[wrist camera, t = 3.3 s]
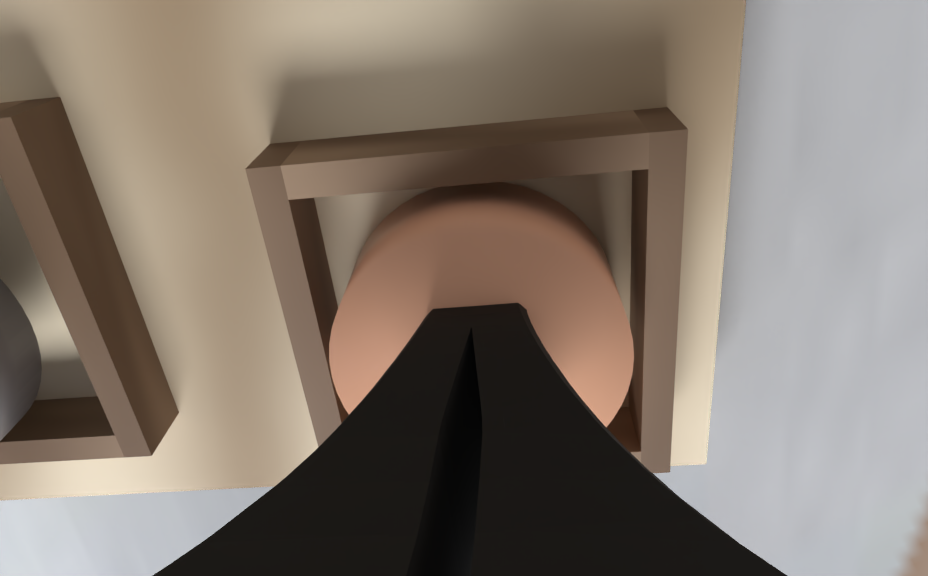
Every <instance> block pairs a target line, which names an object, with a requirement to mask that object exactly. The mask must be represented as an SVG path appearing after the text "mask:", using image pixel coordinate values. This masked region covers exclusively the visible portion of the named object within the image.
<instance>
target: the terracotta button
mask: <svg viewBox="0 0 928 576" xmlns="http://www.w3.org/2000/svg"><path fill="white" fill-rule="evenodd" d="M507 303H519V304H521V305H522V306H523V307H524V308H525V309H527V313H528V316H529V319H530V321H531V323H532V325H533V327H534V329H535V331H536V333H537V335H538V337H539V338H540V340H541V342H542V344H543V345H544V347H545V349H546V350H547V352H548V353H549V355H550V356H551V358H552V359H553V361H554V362H555V364H556V365H557V366H558V368H559V369H560V371H561V372H562V373H563V375H564V376H565V378H566V379H567V380H568V382H569V383H570V385H571V386H572V387H573V389H574V390H575V391H576V392H577V394H578V395H579V396H580V397H581V399H582V400H583V401H584V402H585V404H586V405H587V406H588V407H589V408H590V409H591V411H592V412H593V413H594V414H595V415H596V416H597V418H598V419H599V420H600V421H601V422H602V423H603V424H604V426H605V427H607V426H608V425H609V424H610V422H611V421H612V420H613V418H614V417H615V415H616V414H617V412H618V410H619V409H620V407H621V405H622V403H623V401H624V399H625V396H626V394H627V392H628V389H629V385H630V381H631V377H632V373H633V363H634V348H633V338H632V334H631V329H630V325H629V321H628V318H627V316H626V313H625V310H624V307H623V304H622V301H621V298H620V295H619V292H618V289H617V286H616V283H615V280H614V277H613V274H612V271H611V269H610V266H609V263H608V261H607V258H606V256H605V253H604V251H603V249H602V247H601V245H600V244H599V242H598V240H597V239H596V237H595V236H594V234H593V233H592V232H591V231H590V229H589V228H588V227H587V226H586V224H585V223H584V222H583V221H582V220H581V219H580V218H578V217H577V216H576V215H575V214H574V213H573V212H572V211H571V210H569V209H568V208H566V207H565V206H564V205H562V204H561V203H559V202H558V201H556V200H554V199H552V198H550V197H548V196H546V195H545V194H543V193H540V192H538V191H535V190H532V189H530V188H527V187H524V186H519V185H515V184H511V183H507V182H492V183H480V184H468V185H456V186H445V187H437V188H434V189H431V190H429V191H426V192H424V193H422V194H419V195H417V196H415V197H413V198H412V199H410V200H408V201H407V202H405V203H403V204H401V205H400V206H399V207H398V208H396V209H395V210H394V211H393V212H391V213H390V214H389V215H387V216H386V218H385V219H384V220H383V221H382V222H381V223H380V224H379V225H378V226H377V227H376V228H375V230H374V231H373V232H372V234H371V235H370V237H369V238H368V239H367V241H366V243H365V245H364V247H363V249H362V251H361V253H360V255H359V257H358V259H357V262H356V265H355V267H354V270H353V272H352V275H351V277H350V280H349V282H348V285H347V287H346V290H345V293H344V295H343V298H342V300H341V303H340V305H339V308H338V310H337V313H336V316H335V319H334V322H333V325H332V330H331V336H330V342H329V362H330V369H331V375H332V379H333V382H334V385H335V388H336V392H337V394H338V396H339V398H340V400H341V402H342V404H343V406H344V408H345V409H346V411H347V412H348V414H350V413H351V412H352V411H353V410H354V409H355V408H356V406H357V405H358V404H359V403H360V402H361V401H362V400H363V399H364V398H365V396H366V395H367V394H368V393H369V392H370V390H371V389H372V388H373V387H374V386H375V384H376V383H377V382H378V381H379V379H380V378H381V377H382V375H383V374H384V373H385V372H386V370H387V369H388V368H389V367H390V365H391V364H392V363H393V362H394V360H395V359H396V358H397V356H398V355H399V354H400V352H401V351H402V349H403V348H404V347H405V345H406V344H407V343H408V341H409V340H410V338H411V337H412V336H413V334H414V333H415V331H416V330H417V328H418V327H419V326H420V324H421V323H422V321H423V320H424V318H425V317H426V316H427V315H428V314H429V312H430V311H431V310H432V309H438V308H452V307H466V306H480V305H494V304H507Z"/></svg>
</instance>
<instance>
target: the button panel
mask: <svg viewBox="0 0 928 576" xmlns="http://www.w3.org/2000/svg"><path fill="white" fill-rule="evenodd" d="M745 6H746V0H0V279H1V280H2V281H3V282H4V283H5V285H6V286H7V287H8V288H9V289H10V290H11V292H12V293H13V295H14V296H15V298H16V299H17V300H18V302H19V303H20V305H21V306H22V308H23V310H24V312H25V313H26V315H27V317H28V319H29V321H30V323H31V325H32V328H33V330H34V333H35V335H36V338H37V341H38V345H39V349H40V354H41V365H42V373H41V383H40V387H39V390H38V394H37V396H36V398H35V400H34V402H33V404H32V406H31V408H30V409H29V410H28V411H27V413H26V414H25V415H24V416H23V417H22V419H21V420H20V421H19V422H18V423H17V424H16V425H15V426H14V427H13V428H12V429H11V430H10V431H9V432H8V433H7V434H6V436H5V437H4V438H3V439H2V440H1V441H0V500H18V499H37V498H57V497H76V496H96V495H115V494H135V493H154V492H174V491H193V490H213V489H232V488H252V487H271V486H276V485H277V484H278V483H279V482H281V481H282V480H283V479H284V478H285V477H286V476H288V475H289V474H290V473H291V472H292V471H293V470H294V469H295V468H296V467H298V466H299V465H300V464H301V463H302V462H303V461H304V460H305V459H306V458H308V457H309V456H310V455H311V454H312V453H313V452H314V451H315V450H316V449H317V448H318V447H319V446H320V445H321V444H322V443H323V442H324V441H325V440H326V439H327V438H328V437H329V436H330V435H331V434H332V433H333V432H334V431H335V430H336V429H337V428H338V426H339V425H340V424H341V423H342V422H343V421H344V420H345V419H346V418H347V416H348V415H349V414H348V412H347V411H346V409H345V408H344V406H343V404H342V402H341V400H340V398H339V396H338V394H337V392H336V388H335V385H334V382H333V379H332V375H331V369H330V362H329V342H330V336H331V330H332V325H333V322H334V319H335V316H336V313H337V310H338V308H339V305H340V303H341V300H342V298H343V295H344V293H345V290H346V287H347V285H348V282H349V280H350V277H351V275H352V272H353V270H354V267H355V265H356V262H357V259H358V257H359V255H360V253H361V251H362V249H363V247H364V245H365V243H366V241H367V239H368V238H369V237H370V235H371V234H372V232H373V231H374V230H375V228H376V227H377V226H378V225H379V224H380V223H381V222H382V221H383V220H384V219H385V218H386V216H387V215H389V214H390V213H391V212H393V211H394V210H395V209H396V208H398V207H399V206H400V205H401V204H403V203H405V202H407V201H408V200H410V199H412V198H413V197H415V196H417V195H419V194H422V193H424V192H426V191H429V190H431V189H434V188H437V187H445V186H456V185H468V184H480V183H492V182H507V183H511V184H515V185H519V186H524V187H527V188H530V189H532V190H535V191H538V192H540V193H543V194H545V195H546V196H548V197H550V198H552V199H554V200H556V201H558V202H559V203H561V204H562V205H564V206H565V207H566V208H568V209H569V210H571V211H572V212H573V213H574V214H575V215H576V216H577V217H578V218H580V219H581V220H582V221H583V222H584V223H585V224H586V226H587V227H588V228H589V229H590V231H591V232H592V233H593V234H594V236H595V237H596V239H597V240H598V242H599V244H600V245H601V247H602V249H603V251H604V253H605V256H606V258H607V261H608V263H609V266H610V269H611V271H612V274H613V277H614V280H615V283H616V286H617V289H618V292H619V295H620V298H621V301H622V304H623V307H624V310H625V313H626V316H627V318H628V321H629V325H630V329H631V334H632V338H633V348H634V363H633V373H632V377H631V381H630V385H629V389H628V392H627V394H626V396H625V399H624V401H623V403H622V405H621V407H620V409H619V410H618V412H617V414H616V415H615V417H614V418H613V420H612V421H611V422H610V424H609V425H608V426H607V427H606V428H607V429H608V430H609V431H610V432H611V433H612V434H613V435H614V436H615V437H616V438H617V440H618V441H619V442H620V443H621V444H622V445H623V446H624V447H625V448H626V449H627V450H628V451H629V452H630V453H631V454H632V455H634V456H635V457H636V458H637V459H638V460H639V461H640V462H641V463H642V464H643V465H644V466H645V467H646V468H647V469H648V470H649V471H650V472H651V473H665V472H670V466H680V465H699V464H706V461H707V449H708V438H709V426H710V414H711V403H712V391H713V379H714V368H715V356H716V344H717V333H718V321H719V309H720V298H721V286H722V274H723V263H724V251H725V239H726V228H727V216H728V205H729V193H730V181H731V170H732V158H733V146H734V135H735V123H736V111H737V100H738V88H739V76H740V65H741V53H742V41H743V30H744V18H745Z"/></svg>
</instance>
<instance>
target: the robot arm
mask: <svg viewBox="0 0 928 576" xmlns="http://www.w3.org/2000/svg"><path fill="white" fill-rule="evenodd" d="M153 576H787V575H785V574H784V573H782V572H781V571H779V570H778V569H776V568H775V567H773V566H772V565H770V564H769V563H767V562H766V561H764V560H763V559H762V558H760V557H759V556H757V555H756V554H754V553H753V552H751V551H750V550H748V549H747V548H745V547H744V546H742V545H741V544H739V543H738V542H737V541H735V540H734V539H733V538H732V537H730V536H729V535H728V534H726V533H725V532H724V531H722V530H721V529H720V528H719V527H717V526H716V525H715V524H713V523H712V522H711V521H710V520H708V519H707V518H706V517H704V516H703V515H702V514H700V513H699V512H698V511H697V510H695V509H694V508H693V507H691V506H690V505H689V504H687V503H686V502H685V501H684V500H682V499H681V498H680V497H679V496H677V495H676V494H675V493H674V492H673V491H672V490H671V489H669V488H668V487H667V486H666V485H665V484H664V483H663V482H662V481H660V480H659V479H658V478H657V477H656V476H655V475H654V474H653V473H651V472H650V471H649V470H648V469H647V468H646V467H645V466H644V465H643V464H642V463H641V462H640V461H639V460H638V459H637V458H636V457H635V456H634V455H632V454H631V453H630V452H629V451H628V450H627V449H626V448H625V447H624V446H623V445H622V444H621V443H620V442H619V441H618V440H617V438H616V437H615V436H614V435H613V434H612V433H611V432H610V431H609V430H608V429H607V428H606V427H605V426H604V424H603V423H602V422H601V421H600V420H599V419H598V418H597V416H596V415H595V414H594V413H593V412H592V411H591V409H590V408H589V407H588V406H587V405H586V404H585V402H584V401H583V400H582V399H581V397H580V396H579V395H578V394H577V392H576V391H575V390H574V389H573V387H572V386H571V385H570V383H569V382H568V380H567V379H566V378H565V376H564V375H563V373H562V372H561V371H560V369H559V368H558V366H557V365H556V364H555V362H554V361H553V359H552V358H551V356H550V355H549V353H548V352H547V350H546V349H545V347H544V345H543V344H542V342H541V340H540V338H539V337H538V335H537V333H536V331H535V329H534V327H533V325H532V323H531V321H530V319H529V316H528V313H527V309H525V308H524V307H523V306H522V305H521V304H519V303H507V304H494V305H480V306H466V307H452V308H438V309H432V310H431V311H430V312H429V314H428V315H427V316H426V317H425V318H424V320H423V321H422V323H421V324H420V326H419V327H418V328H417V330H416V331H415V333H414V334H413V336H412V337H411V338H410V340H409V341H408V343H407V344H406V345H405V347H404V348H403V349H402V351H401V352H400V354H399V355H398V356H397V358H396V359H395V360H394V362H393V363H392V364H391V365H390V367H389V368H388V369H387V370H386V372H385V373H384V374H383V375H382V377H381V378H380V379H379V381H378V382H377V383H376V384H375V386H374V387H373V388H372V389H371V390H370V392H369V393H368V394H367V395H366V396H365V398H364V399H363V400H362V401H361V402H360V403H359V404H358V405H357V406H356V408H355V409H354V410H353V411H352V412H351V413H350V414H349V415H348V416H347V418H346V419H345V420H344V421H343V422H342V423H341V424H340V425H339V426H338V428H337V429H336V430H335V431H334V432H333V433H332V434H331V435H330V436H329V437H328V438H327V439H326V440H325V441H324V442H323V443H322V444H321V445H320V446H319V447H318V448H317V449H316V450H315V451H314V452H313V453H312V454H311V455H310V456H309V457H308V458H306V459H305V460H304V461H303V462H302V463H301V464H300V465H299V466H298V467H296V468H295V469H294V470H293V471H292V472H291V473H290V474H289V475H288V476H286V477H285V478H284V479H283V480H282V481H281V482H279V483H278V484H277V485H276V486H275V487H274V488H272V489H271V490H270V491H268V492H267V493H266V494H265V495H263V496H262V497H261V498H259V499H258V500H257V501H255V502H254V503H253V504H252V505H250V506H249V507H248V508H246V509H245V510H244V511H243V512H241V513H240V514H239V515H237V516H236V517H235V518H234V519H232V520H231V521H230V522H228V523H227V524H226V525H225V526H223V527H222V528H221V529H219V530H218V531H217V532H215V533H214V534H213V535H212V536H210V537H209V538H207V539H206V540H205V541H203V542H202V543H200V544H199V545H197V546H196V547H194V548H193V549H192V550H190V551H189V552H187V553H186V554H184V555H183V556H181V557H180V558H178V559H177V560H175V561H174V562H173V563H171V564H170V565H168V566H167V567H165V568H164V569H162V570H161V571H159V572H157V573H156V574H154V575H153Z"/></svg>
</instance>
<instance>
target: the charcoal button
mask: <svg viewBox="0 0 928 576" xmlns="http://www.w3.org/2000/svg"><path fill="white" fill-rule="evenodd" d="M41 373H42V365H41V354H40V349H39V345H38V341H37V338H36V335H35V333H34V330H33V328H32V325H31V323H30V321H29V319H28V317H27V315H26V313H25V312H24V310H23V308H22V306H21V305H20V303H19V302H18V300H17V299H16V298H15V296H14V295H13V293H12V292H11V290H10V289H9V288H8V287H7V286H6V285H5V283H4V282H3V281H2V280H1V279H0V441H1V440H2V439H3V438H4V437H5V436H6V434H7V433H8V432H9V431H10V430H11V429H12V428H13V427H14V426H15V425H16V424H17V423H18V422H19V421H20V420H21V419H22V417H23V416H24V415H25V414H26V413H27V411H28V410H29V409H30V408H31V406H32V404H33V402H34V400H35V398H36V396H37V394H38V390H39V387H40V383H41Z"/></svg>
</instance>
